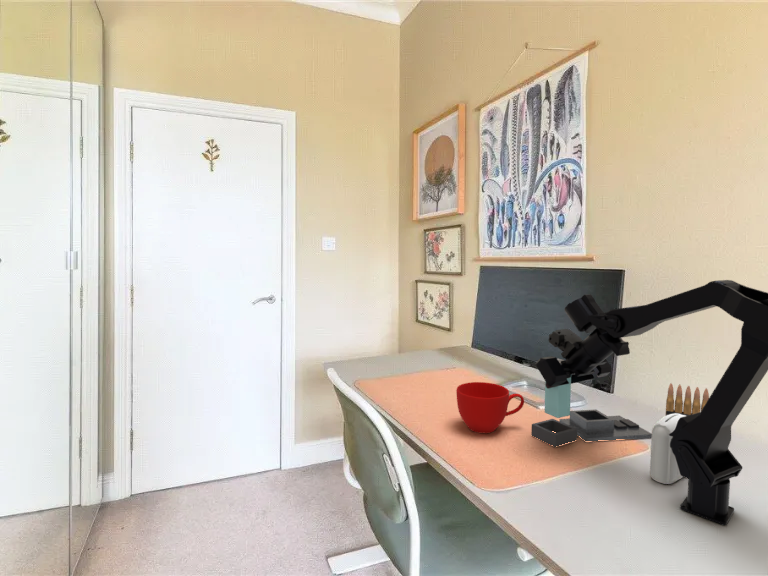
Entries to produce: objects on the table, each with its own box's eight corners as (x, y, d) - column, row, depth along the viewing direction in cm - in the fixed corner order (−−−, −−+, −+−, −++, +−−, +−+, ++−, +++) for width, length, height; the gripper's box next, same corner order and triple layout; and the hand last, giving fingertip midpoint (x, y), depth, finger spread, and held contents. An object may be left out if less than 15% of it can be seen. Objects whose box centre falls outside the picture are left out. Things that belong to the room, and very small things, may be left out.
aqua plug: (569, 415, 104) (571, 361, 103) (557, 418, 102) (559, 363, 101) (556, 409, 108) (558, 357, 107) (544, 412, 106) (545, 359, 105)
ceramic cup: (531, 439, 105) (532, 398, 104) (460, 438, 105) (460, 398, 105) (516, 418, 118) (516, 382, 117) (452, 418, 118) (453, 381, 117)
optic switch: (652, 438, 105) (653, 422, 105) (586, 442, 103) (586, 426, 103) (619, 419, 117) (620, 404, 117) (559, 422, 115) (559, 407, 114)
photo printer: (670, 464, 93) (673, 406, 91) (693, 472, 89) (697, 413, 88) (645, 478, 87) (648, 417, 86) (669, 487, 83) (673, 424, 82)
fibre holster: (576, 441, 104) (577, 428, 103) (555, 447, 100) (555, 435, 100) (552, 430, 110) (552, 418, 110) (531, 436, 107) (531, 424, 106)
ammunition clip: (717, 438, 105) (720, 389, 104) (717, 441, 104) (720, 391, 102) (664, 428, 111) (666, 381, 110) (663, 430, 110) (666, 383, 109)
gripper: (601, 316, 104) (563, 353, 115) (543, 322, 96) (507, 361, 106) (631, 356, 97) (587, 391, 108) (571, 366, 89) (530, 403, 100)
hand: (553, 385), depth 106 cm, fingers closed on aqua plug, 4 cm apart
